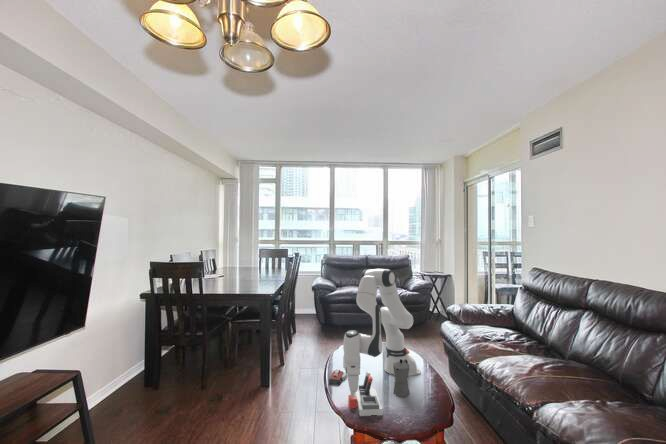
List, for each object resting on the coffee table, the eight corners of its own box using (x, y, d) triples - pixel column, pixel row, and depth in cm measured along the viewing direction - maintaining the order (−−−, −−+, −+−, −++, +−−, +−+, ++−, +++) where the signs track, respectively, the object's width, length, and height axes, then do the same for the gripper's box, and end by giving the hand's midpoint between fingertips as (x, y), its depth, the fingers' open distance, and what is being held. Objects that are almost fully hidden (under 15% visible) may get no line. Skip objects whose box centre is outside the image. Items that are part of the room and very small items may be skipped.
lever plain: (365, 389, 161) (369, 371, 161) (366, 391, 158) (370, 373, 159) (362, 388, 161) (366, 370, 161) (362, 390, 158) (367, 372, 159)
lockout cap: (356, 403, 153) (356, 394, 153) (357, 408, 149) (356, 399, 149) (348, 403, 153) (348, 395, 153) (349, 408, 149) (349, 399, 149)
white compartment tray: (374, 393, 162) (374, 384, 163) (382, 415, 143) (382, 404, 144) (355, 394, 162) (354, 385, 162) (359, 416, 143) (359, 405, 143)
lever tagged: (367, 395, 155) (371, 376, 155) (367, 398, 152) (372, 379, 153) (363, 394, 155) (368, 376, 155) (364, 397, 152) (369, 378, 153)
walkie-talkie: (342, 386, 171) (349, 371, 190) (342, 379, 171) (349, 364, 190) (327, 384, 173) (336, 369, 192) (327, 377, 173) (336, 362, 192)
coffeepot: (405, 401, 156) (405, 366, 156) (388, 395, 161) (388, 361, 161) (415, 388, 168) (414, 356, 169) (399, 383, 174) (398, 352, 174)
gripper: (344, 355, 162) (343, 381, 162) (347, 373, 142) (347, 402, 141) (355, 355, 162) (355, 381, 162) (360, 373, 142) (360, 402, 141)
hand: (351, 391), depth 151 cm, fingers open, 8 cm apart
